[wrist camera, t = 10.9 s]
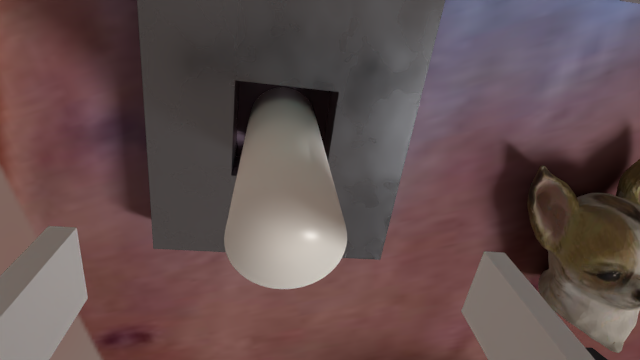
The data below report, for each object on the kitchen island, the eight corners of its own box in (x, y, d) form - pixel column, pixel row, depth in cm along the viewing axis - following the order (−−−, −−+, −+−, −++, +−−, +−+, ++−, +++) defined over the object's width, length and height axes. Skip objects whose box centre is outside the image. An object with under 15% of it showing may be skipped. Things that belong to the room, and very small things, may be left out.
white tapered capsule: (310, 152, 28) (337, 290, 15) (248, 146, 27) (222, 286, 15) (318, 91, 26) (356, 193, 13) (251, 83, 25) (225, 183, 13)
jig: (371, 236, 32) (380, 259, 29) (164, 224, 29) (153, 248, 27) (428, -10, 24) (447, -9, 21) (151, -53, 21) (133, -57, 19)
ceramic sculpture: (564, 385, 28) (592, 205, 22) (502, 303, 36) (510, 154, 30) (704, 357, 29) (769, 172, 23) (612, 282, 37) (642, 130, 31)
